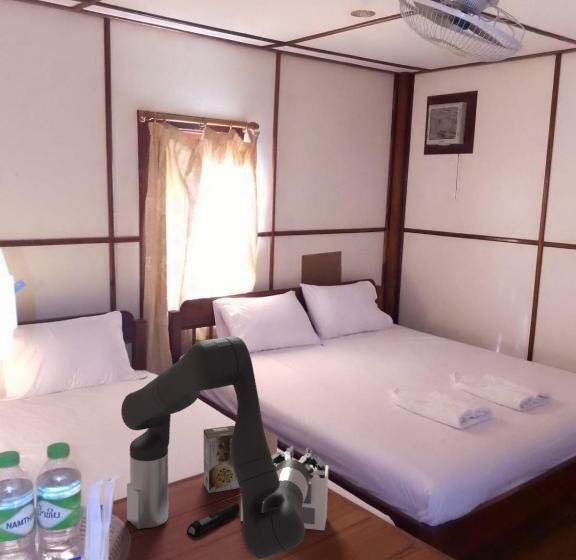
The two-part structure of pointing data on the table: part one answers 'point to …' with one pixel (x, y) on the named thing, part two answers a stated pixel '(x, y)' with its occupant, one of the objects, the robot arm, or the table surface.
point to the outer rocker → (308, 495)
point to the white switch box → (313, 504)
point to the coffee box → (219, 460)
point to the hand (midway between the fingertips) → (300, 450)
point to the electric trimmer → (212, 520)
